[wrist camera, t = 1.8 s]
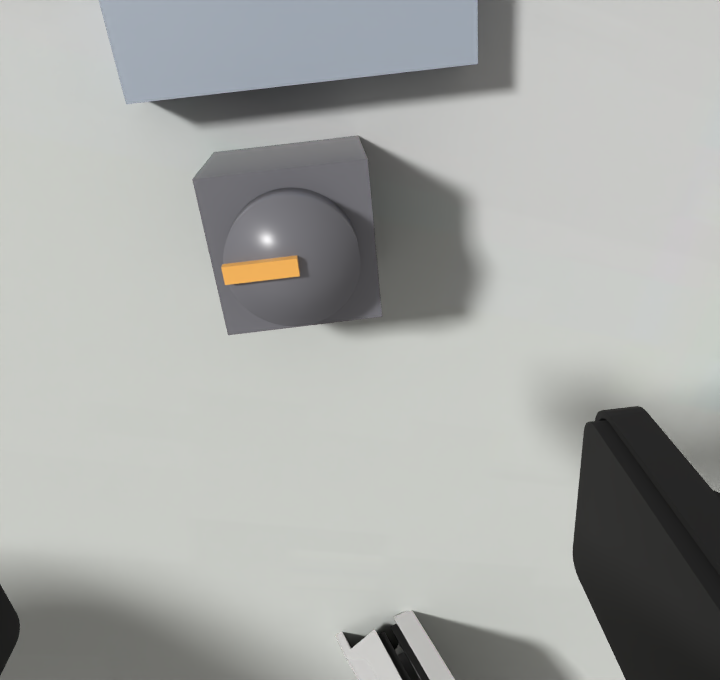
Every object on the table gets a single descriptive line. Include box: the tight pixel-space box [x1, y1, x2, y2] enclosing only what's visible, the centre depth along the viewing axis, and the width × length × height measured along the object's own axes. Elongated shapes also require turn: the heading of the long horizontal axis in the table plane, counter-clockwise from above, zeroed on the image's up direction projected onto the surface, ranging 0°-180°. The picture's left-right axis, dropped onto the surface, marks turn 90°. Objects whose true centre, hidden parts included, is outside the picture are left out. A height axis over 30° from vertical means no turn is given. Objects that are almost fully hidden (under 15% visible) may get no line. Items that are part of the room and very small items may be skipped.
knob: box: [192, 136, 382, 335], centre depth 22 cm, size 6×6×6 cm
